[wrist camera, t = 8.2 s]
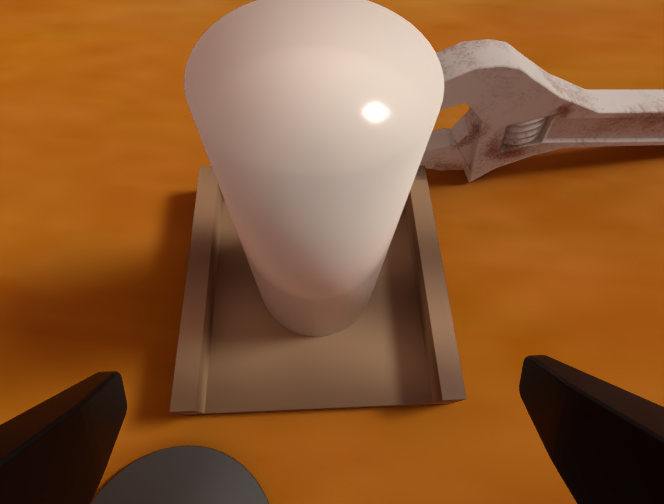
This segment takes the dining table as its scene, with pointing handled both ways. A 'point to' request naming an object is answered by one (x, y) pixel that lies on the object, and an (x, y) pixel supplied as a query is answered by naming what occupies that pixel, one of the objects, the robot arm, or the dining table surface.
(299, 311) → the white rounded tapered post
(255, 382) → the bay
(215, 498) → the coaster
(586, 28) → the dining table surface
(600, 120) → the wrench
